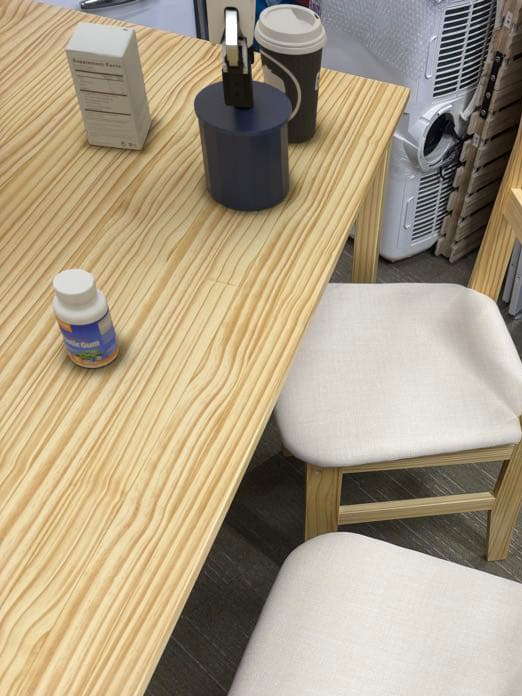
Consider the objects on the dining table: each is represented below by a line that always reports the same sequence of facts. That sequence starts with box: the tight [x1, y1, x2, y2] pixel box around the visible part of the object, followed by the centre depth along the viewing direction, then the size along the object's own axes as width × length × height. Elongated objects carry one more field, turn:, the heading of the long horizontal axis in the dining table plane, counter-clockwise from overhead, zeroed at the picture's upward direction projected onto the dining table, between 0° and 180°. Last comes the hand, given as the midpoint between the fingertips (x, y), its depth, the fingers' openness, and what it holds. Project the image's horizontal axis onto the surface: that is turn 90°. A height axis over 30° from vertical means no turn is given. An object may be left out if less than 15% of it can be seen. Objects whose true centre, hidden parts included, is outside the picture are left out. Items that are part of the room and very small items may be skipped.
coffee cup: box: [253, 3, 328, 144], centre depth 108 cm, size 10×10×15 cm
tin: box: [197, 118, 290, 212], centre depth 101 cm, size 11×11×10 cm
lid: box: [193, 53, 292, 136], centre depth 95 cm, size 12×12×7 cm
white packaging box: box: [64, 21, 153, 151], centre depth 104 cm, size 7×7×13 cm
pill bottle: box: [52, 268, 120, 369], centre depth 83 cm, size 5×5×10 cm
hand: (240, 83), depth 94 cm, fingers open, 9 cm apart
